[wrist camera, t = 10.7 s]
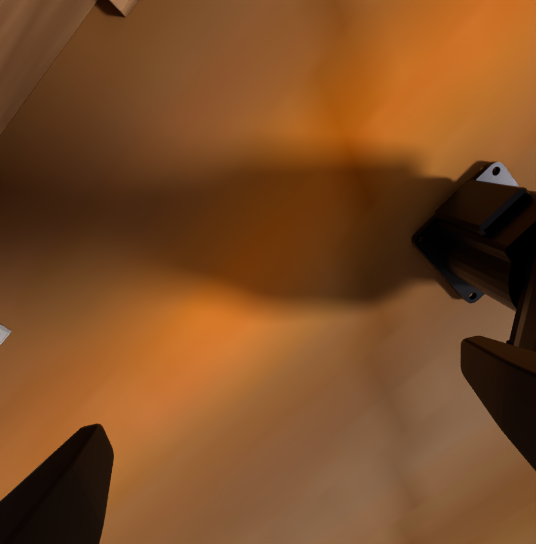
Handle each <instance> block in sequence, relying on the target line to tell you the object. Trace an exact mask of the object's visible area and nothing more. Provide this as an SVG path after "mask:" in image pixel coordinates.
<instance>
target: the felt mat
mask: <svg viewBox="0 0 536 544" xmlns="http://www.w3.org/2000/svg"><path fill="white" fill-rule="evenodd" d="M11 332H12V331H10V330H9V329H7V328H5V327H4V326H2V325H0V345H1V344H2V342H3V341H4V340H5V339H6V338H7V336H8V335H9V334H10V333H11Z"/></svg>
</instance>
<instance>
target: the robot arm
mask: <svg viewBox="0 0 536 544" xmlns="http://www.w3.org/2000/svg"><path fill="white" fill-rule="evenodd" d="M494 167H495V169H496V170H495V173H494V174H492V170H493V168H494ZM421 237H424V240H423V241H422V242H421V243H419V240H420V238H421ZM412 243H413V245H414V246H415V247H416V248H417V250H418V251H419V252H420V253H421V254H422V255H423V256H424V257H425V258H426V259H427V260H428V262H429V263H430V264H431V265H432V266H433V267H434V268H435V269H436V270H437V271H438V272H439V273H440V275H441V276H442V277H443V278H444V279H445V280H446V281H447V282H448V283H449V284H450V285H451V287H452V288H453V289H454V290H455V291H456V292H457V293H458V294H459V295H460V296H461V297H462V298H463V299H464V300H465V301H467V302H468V303H474V302H476V301H477V300H479V299H480V298H481V297H482V296H483V295H484V294H486V295H488V296H490V297H491V298H493V299H495V300H497V301H498V302H500V303H502V304H503V305H505V306H507V307H509V308H510V309H512V310H514V311H516V314H515V318H514V322H513V326H512V331H511V335H510V339H509V340H508V341H506V343H503V342H500V341H496V340H493V339H489V338H486V337H483V336H474V337H469V338H465V339H463V340H462V342H461V371H462V373H463V375H464V377H465V379H466V380H467V381H468V383H469V384H470V386H471V387H472V389H473V390H474V392H475V393H476V394H477V396H478V397H479V399H480V400H481V402H482V403H483V405H484V406H485V407H486V409H487V410H488V412H489V413H490V415H491V416H492V418H493V419H494V421H495V422H496V423H497V425H498V426H499V427H500V429H501V430H502V431H503V432H504V434H505V435H506V436H507V437H508V439H509V440H510V441H511V442H512V443H513V445H514V446H515V447H516V448H517V449H518V451H519V452H520V453H521V454H522V455H523V456H524V458H525V459H526V460H527V461H528V462H529V464H530V465H531V466H532V467H533V468H534V469H535V471H536V192H535V191H528V190H527V189H526V188H524V187H519V186H518V184H517V183H516V181H515V180H514V179H513V177H512V176H511V174H510V173H509V172H508V170H507V169H506V168H505V166H504V165H503V164H502V163H501V162H490V163H488V164H487V165H486V166H485V167H484V168H483V169H482V170H481V171H479V172H478V173H477V174H476V175H475V176H474V177H473V178H472V179H471V180H468V181H466V182H465V183H464V184H463V185H462V186H461V187H460V188H459V189H458V190H457V191H456V192H455V193H454V194H453V195H452V196H451V197H450V198H449V199H448V200H447V201H446V202H445V203H444V204H443V205H442V206H441V207H439V208H438V209H437V210H436V213H435V215H434V216H433V217H432V218H431V219H430V220H429V221H428V222H427V223H426V224H424V225H423V226H422V227H421V228H420V229H419V230H418V231H417V232H416V233H415V234H414V236H413V237H412ZM471 293H473V294H472V296H470V297H469V295H470V294H471ZM113 460H114V453H113V448H112V446H111V444H110V441H109V439H108V437H107V435H106V432H105V430H104V428H103V426H102V425H101V424H93V425H88V426H84V427H82V428H80V429H79V430H78V431H77V432H76V433H75V434H74V435H72V436H71V437H70V438H69V439H68V440H67V441H66V442H65V443H64V444H63V445H61V446H60V447H59V448H58V449H57V450H56V451H55V452H54V453H53V454H52V455H50V456H49V457H48V458H47V459H46V460H45V461H44V462H43V463H42V464H41V465H39V466H38V467H37V468H36V469H35V470H34V471H33V472H32V473H31V474H30V475H29V476H27V477H26V478H25V479H24V480H23V481H22V482H21V483H20V484H19V485H18V486H16V487H15V488H14V489H13V490H12V491H11V492H10V493H9V494H8V495H7V496H5V497H4V498H3V499H2V500H1V501H0V544H99V542H100V538H101V534H102V530H103V525H104V519H105V513H106V507H107V500H108V493H109V487H110V480H111V473H112V467H113Z"/></svg>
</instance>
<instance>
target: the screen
mask: <svg viewBox="0 0 536 544" xmlns="http://www.w3.org/2000/svg"><path fill="white" fill-rule="evenodd" d="M109 1H110V2H111V3H112V4H113V5H114V6H115V7H116V8H117V9H118V10H119V11H120V12H121V13H122V14H123V15H124V16H125V17H126V16H127V15H128V13H129V12H130V11H131V9H132V8H133V7H134V5H135V4H136V3H137V1H138V0H109ZM96 2H97V0H0V135H1V133H2V132H3V131H4V129H5V128H6V126H7V125H8V124H9V122H10V121H11V120H12V118H13V117H14V115H15V114H16V113H17V111H18V110H19V108H20V107H21V106H22V104H23V103H24V101H25V100H26V99H27V97H28V96H29V95H30V93H31V92H32V90H33V89H34V88H35V86H36V85H37V83H38V82H39V81H40V79H41V78H42V77H43V75H44V74H45V72H46V71H47V70H48V68H49V67H50V65H51V64H52V63H53V61H54V60H55V59H56V57H57V56H58V54H59V53H60V52H61V50H62V49H63V47H64V46H65V45H66V43H67V42H68V40H69V39H70V38H71V36H72V35H73V34H74V32H75V31H76V29H77V28H78V27H79V25H80V24H81V22H82V21H83V20H84V18H85V17H86V16H87V14H88V13H89V11H90V10H91V9H92V7H93V6H94V4H95V3H96Z"/></svg>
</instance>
